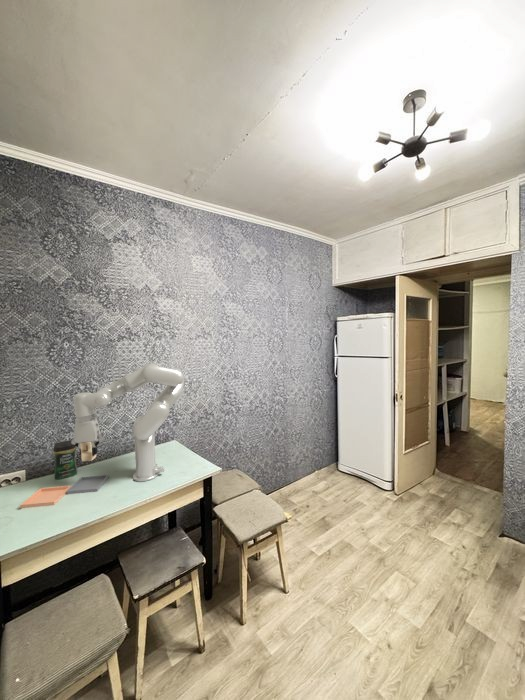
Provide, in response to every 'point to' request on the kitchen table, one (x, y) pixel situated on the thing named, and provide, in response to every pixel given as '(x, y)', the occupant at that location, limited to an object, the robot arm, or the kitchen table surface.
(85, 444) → the notched wooden block
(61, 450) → the coffee jar
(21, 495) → the kitchen table surface
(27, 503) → the terracotta dish
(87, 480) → the charcoal tray
